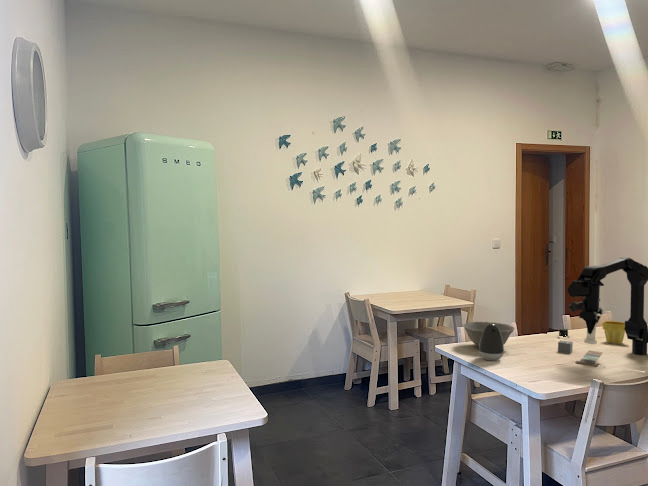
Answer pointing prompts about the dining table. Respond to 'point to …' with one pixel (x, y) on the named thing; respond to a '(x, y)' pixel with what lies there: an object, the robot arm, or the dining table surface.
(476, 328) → the ceramic bowl
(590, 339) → the pawn
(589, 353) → the board
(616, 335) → the plant pot
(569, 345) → the grey cube
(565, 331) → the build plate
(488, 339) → the dark grey egg shape
